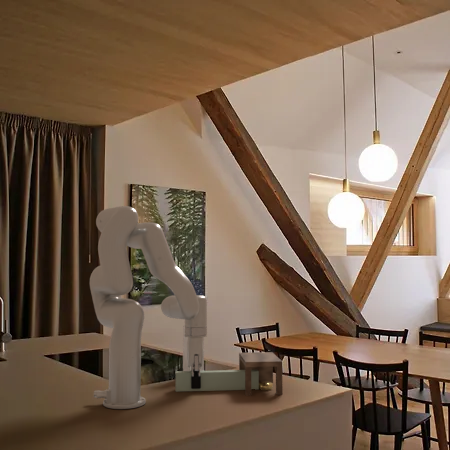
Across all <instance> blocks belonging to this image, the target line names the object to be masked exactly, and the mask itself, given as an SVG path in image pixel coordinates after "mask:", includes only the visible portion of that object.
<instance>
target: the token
mask: <svg viewBox="0 0 450 450" xmlns="http://www.w3.org/2000/svg"><path fill="white" fill-rule="evenodd" d="M260 389H262V390H261V391H272V390H273V389H274V382H273V383H271V382H259V389H258V390H260ZM271 389H272V390H271Z"/></svg>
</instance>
